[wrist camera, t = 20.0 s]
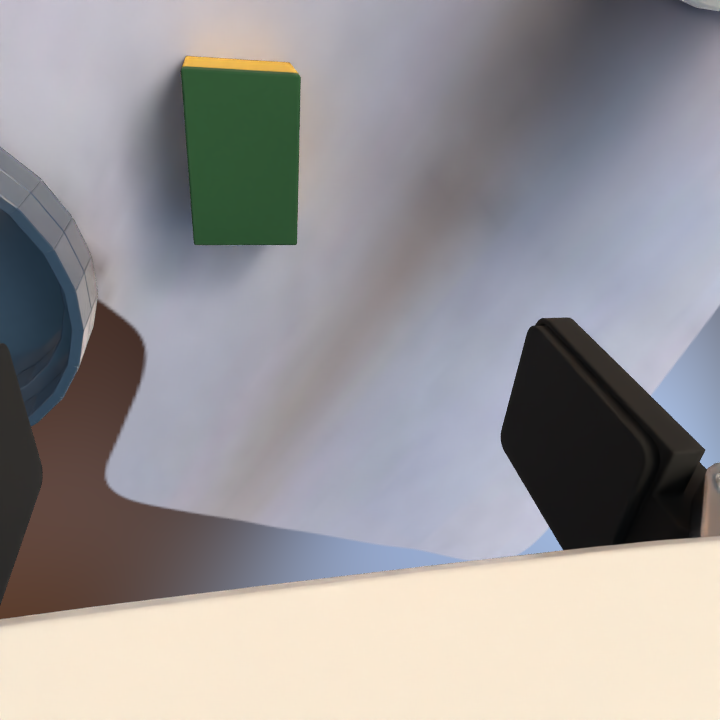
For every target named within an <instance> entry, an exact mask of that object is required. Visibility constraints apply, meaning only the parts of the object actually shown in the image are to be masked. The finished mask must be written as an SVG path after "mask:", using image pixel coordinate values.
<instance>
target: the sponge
mask: <svg viewBox="0 0 720 720" xmlns="http://www.w3.org/2000/svg"><path fill="white" fill-rule="evenodd" d="M181 81H182V94H183V107H184V120H185V133H186V146H187V160H188V173H189V186H190V199H191V212H192V225H193V238H194V244H195V245H296V244H297V221H298V175H299V130H300V85H301V77H300V75H299V74H298V72H297V71H296V70H295V69H294V67H293V66H292V65H291V64H290V63H289V62H273V61H258V60H242V59H226V58H210V57H194V56H186V57H185V60H184V63H183V65H182V69H181Z"/></svg>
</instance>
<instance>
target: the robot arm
mask: <svg viewBox="0 0 720 720" xmlns="http://www.w3.org/2000/svg"><path fill="white" fill-rule="evenodd" d="M681 1H683V2H685V3H687V4H689V5H691V6H693V7H696V8H702V9H708V10H714V11H720V0H681ZM501 444H502V447H503V449H504V451H505V453H506V455H507V456H508V458H509V460H510V462H511V463H512V465H513V467H514V468H515V470H516V472H517V473H518V475H519V477H520V478H521V480H522V482H523V483H524V485H525V487H526V488H527V490H528V492H529V493H530V495H531V497H532V498H533V500H534V502H535V504H536V505H537V507H538V509H539V510H540V512H541V514H542V515H543V517H544V519H545V520H546V522H547V524H548V525H549V527H550V529H551V530H552V532H553V534H554V535H555V537H556V539H557V541H558V542H559V544H560V545H561V547H562V549H563V551H554V552H545V553H536V554H528V555H518V556H510V557H501V558H492V559H483V560H474V561H466V562H457V563H448V564H440V565H431V566H424V567H415V568H407V569H398V570H389V571H381V572H372V573H364V574H356V575H347V576H339V577H331V578H322V579H314V580H306V581H297V582H289V583H281V584H273V585H264V586H256V587H248V588H240V589H233V590H225V591H216V592H208V593H201V594H192V595H184V596H176V597H168V598H160V599H152V600H144V601H136V602H128V603H120V604H112V605H104V606H96V607H88V608H81V609H73V610H66V611H59V612H52V613H44V614H36V615H30V616H22V617H15V618H8V619H0V720H720V463H715V464H714V465H712V466H711V467H709V468H708V469H706V468H705V467H704V466H703V465H702V464H701V463H700V460H701V458H702V456H703V454H704V452H705V449H704V448H703V447H702V446H701V445H700V444H699V443H698V442H697V441H696V440H695V439H694V438H693V437H692V436H691V435H689V433H688V432H687V431H686V430H685V429H684V428H682V426H680V425H679V424H678V423H677V422H676V421H675V420H674V419H673V418H672V417H671V416H670V415H669V414H668V413H667V412H666V411H665V410H664V409H663V408H662V407H661V406H660V405H659V404H658V403H657V402H656V401H655V400H654V399H653V398H652V397H651V396H650V395H649V394H648V393H647V392H646V391H645V390H644V389H643V388H642V387H641V386H640V385H639V384H638V383H637V382H636V381H635V380H634V379H633V378H632V377H631V376H630V375H629V374H628V373H627V372H626V371H625V370H624V369H623V368H622V367H621V366H620V365H619V364H618V363H617V362H616V361H615V360H613V359H612V358H611V357H610V356H609V355H608V354H607V353H606V352H605V351H604V350H603V349H602V348H601V347H600V346H599V345H598V344H597V343H596V342H595V341H594V340H593V339H592V338H591V337H590V336H589V335H588V334H587V333H586V332H585V331H584V330H583V329H582V328H581V327H580V326H579V325H578V324H577V323H576V322H575V321H574V320H573V319H571V318H542V319H540V320H538V322H537V323H536V325H535V326H531V327H530V328H529V330H528V332H527V335H526V339H525V343H524V346H523V350H522V354H521V358H520V362H519V365H518V369H517V373H516V377H515V381H514V384H513V388H512V392H511V396H510V400H509V403H508V407H507V411H506V415H505V419H504V422H503V426H502V430H501ZM41 484H42V465H41V461H40V458H39V454H38V451H37V447H36V443H35V440H34V436H33V433H32V429H31V426H30V422H29V419H28V415H27V412H26V408H25V404H24V401H23V397H22V394H21V390H20V387H19V383H18V380H17V376H16V373H15V369H14V366H13V362H12V359H11V355H10V352H9V349H8V347H7V345H6V344H4V343H0V604H1V601H2V599H3V596H4V593H5V590H6V587H7V584H8V581H9V578H10V575H11V572H12V569H13V567H14V563H15V561H16V558H17V555H18V552H19V549H20V546H21V543H22V540H23V537H24V534H25V531H26V529H27V525H28V523H29V520H30V517H31V514H32V511H33V508H34V505H35V502H36V499H37V496H38V493H39V491H40V488H41Z"/></svg>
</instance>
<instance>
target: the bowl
mask: <svg viewBox="0 0 720 720" xmlns="http://www.w3.org/2000/svg"><path fill="white" fill-rule="evenodd" d="M97 298H98V290H97V284H96V278H95V273H94V267H93V261H92V257H91V254H90V252H89V250H88V248H87V246H86V244H85V241H84V239H83V237H82V235H81V233H80V231H79V229H78V227H77V225H76V223H75V221H74V219H73V218H72V216H71V215H70V213H69V212H68V211H67V210H66V209H65V207H64V206H63V205H62V204H61V203H60V201H59V200H58V199H57V198H56V197H55V195H54V194H53V193H52V192H51V190H50V189H49V188H48V187H47V186H46V184H45V183H44V182H43V181H41V179H40V178H39V177H38V176H37V175H35V174H34V173H33V172H32V171H30V170H29V169H28V168H27V167H25V166H24V165H23V164H21V163H20V162H19V161H18V160H16V159H15V158H14V157H13V156H11V155H10V154H9V153H8V152H6V151H5V150H4V149H2V148H1V147H0V343H4V344H6V345H7V347H8V349H9V352H10V355H11V359H12V362H13V366H14V369H15V373H16V376H17V380H18V383H19V387H20V390H21V394H22V397H23V401H24V404H25V408H26V412H27V415H28V419H29V422H30V426H33V425H35V424H36V423H38V422H39V421H40V420H41V419H42V418H43V417H44V416H45V415H46V414H47V413H48V412H49V411H50V410H51V409H52V408H53V407H54V406H56V405H57V403H58V402H60V401H61V400H62V399H63V397H64V396H65V394H66V392H67V390H68V388H69V386H70V384H71V382H72V380H73V378H74V376H75V374H76V372H77V370H78V368H79V366H80V363H81V360H82V357H83V354H84V352H85V349H86V346H87V343H88V340H89V337H90V334H91V331H92V328H93V326H94V319H95V312H96V305H97Z"/></svg>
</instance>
